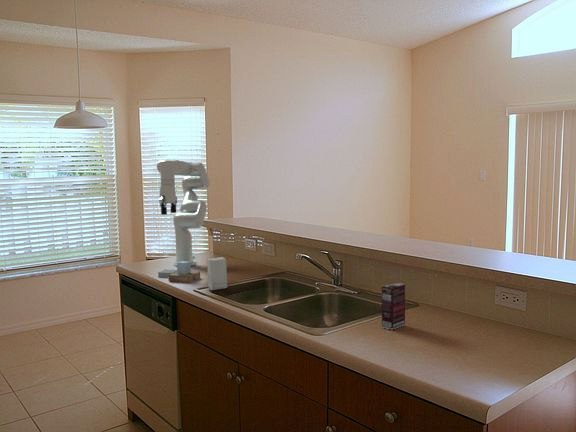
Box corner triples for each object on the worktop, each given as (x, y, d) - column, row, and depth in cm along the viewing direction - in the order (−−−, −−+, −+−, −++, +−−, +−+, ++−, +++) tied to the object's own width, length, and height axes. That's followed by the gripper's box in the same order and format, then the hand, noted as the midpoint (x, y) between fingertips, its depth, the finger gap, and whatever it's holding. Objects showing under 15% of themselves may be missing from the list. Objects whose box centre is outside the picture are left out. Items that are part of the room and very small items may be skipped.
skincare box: (223, 286, 262) (223, 256, 261) (227, 288, 257) (227, 258, 255) (207, 287, 259) (206, 258, 257) (211, 290, 253) (210, 260, 252)
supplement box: (394, 323, 200) (395, 281, 198) (405, 325, 196) (406, 284, 194) (380, 328, 194) (381, 285, 192) (391, 331, 190) (392, 288, 189)
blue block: (182, 272, 279) (182, 261, 279) (190, 272, 278) (190, 261, 277) (177, 274, 275) (176, 262, 274) (185, 274, 273) (185, 263, 272)
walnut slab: (180, 277, 285) (180, 270, 284) (200, 278, 281) (200, 271, 280) (168, 282, 273) (168, 275, 273) (189, 284, 269) (189, 276, 269)
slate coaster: (165, 274, 292) (165, 269, 292) (178, 275, 290) (178, 270, 290) (158, 277, 284) (158, 272, 284) (171, 278, 282) (171, 273, 282)
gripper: (170, 182, 300) (171, 212, 302) (153, 183, 284) (154, 215, 285) (181, 182, 298) (182, 212, 299) (165, 183, 281) (166, 215, 283)
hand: (168, 213), depth 292 cm, fingers open, 9 cm apart
